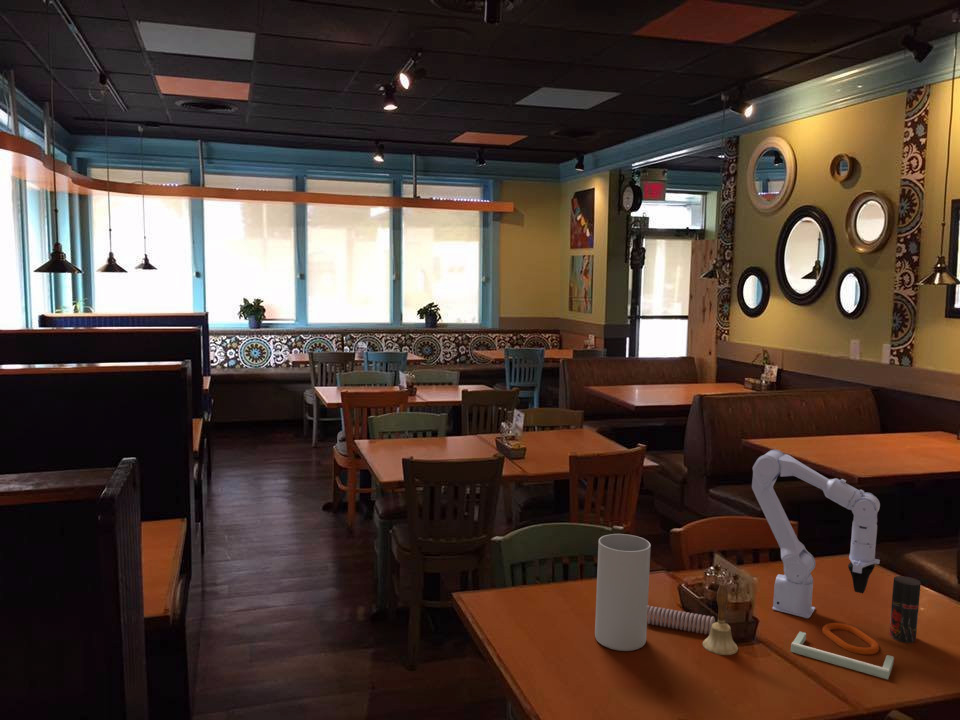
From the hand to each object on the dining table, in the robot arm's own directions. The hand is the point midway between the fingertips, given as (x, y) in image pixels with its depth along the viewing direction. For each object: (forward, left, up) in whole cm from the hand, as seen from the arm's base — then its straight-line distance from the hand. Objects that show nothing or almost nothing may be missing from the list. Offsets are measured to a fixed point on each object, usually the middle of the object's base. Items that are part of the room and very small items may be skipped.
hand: (859, 591), depth 197 cm
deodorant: (+10, 0, -10) cm, 14 cm away
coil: (-37, -30, -10) cm, 49 cm away
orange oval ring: (0, -10, -10) cm, 14 cm away
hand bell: (-25, -34, -10) cm, 43 cm away
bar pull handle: (0, -21, -9) cm, 23 cm away
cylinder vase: (-46, -46, -10) cm, 66 cm away
